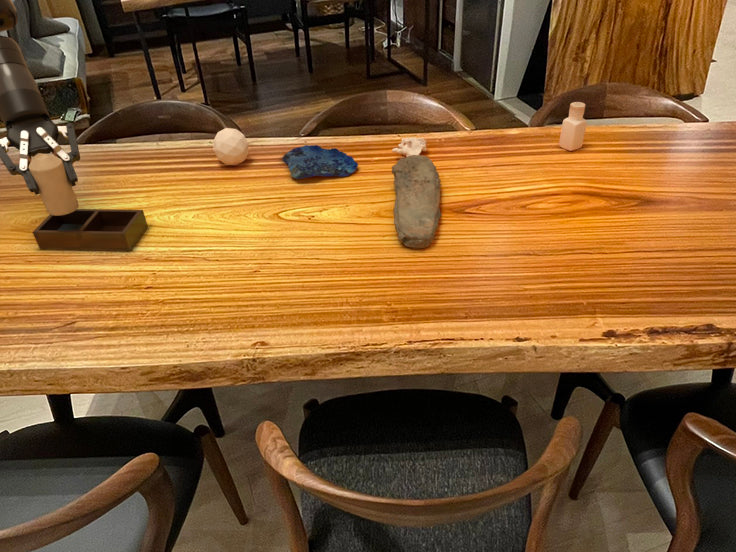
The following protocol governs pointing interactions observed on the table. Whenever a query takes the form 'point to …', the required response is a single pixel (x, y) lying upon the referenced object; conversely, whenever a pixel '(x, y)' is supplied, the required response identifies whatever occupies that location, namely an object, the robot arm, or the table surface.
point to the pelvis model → (411, 146)
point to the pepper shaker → (573, 127)
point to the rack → (92, 230)
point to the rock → (318, 162)
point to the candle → (53, 184)
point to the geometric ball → (230, 146)
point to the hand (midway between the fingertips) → (55, 188)
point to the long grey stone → (416, 200)
